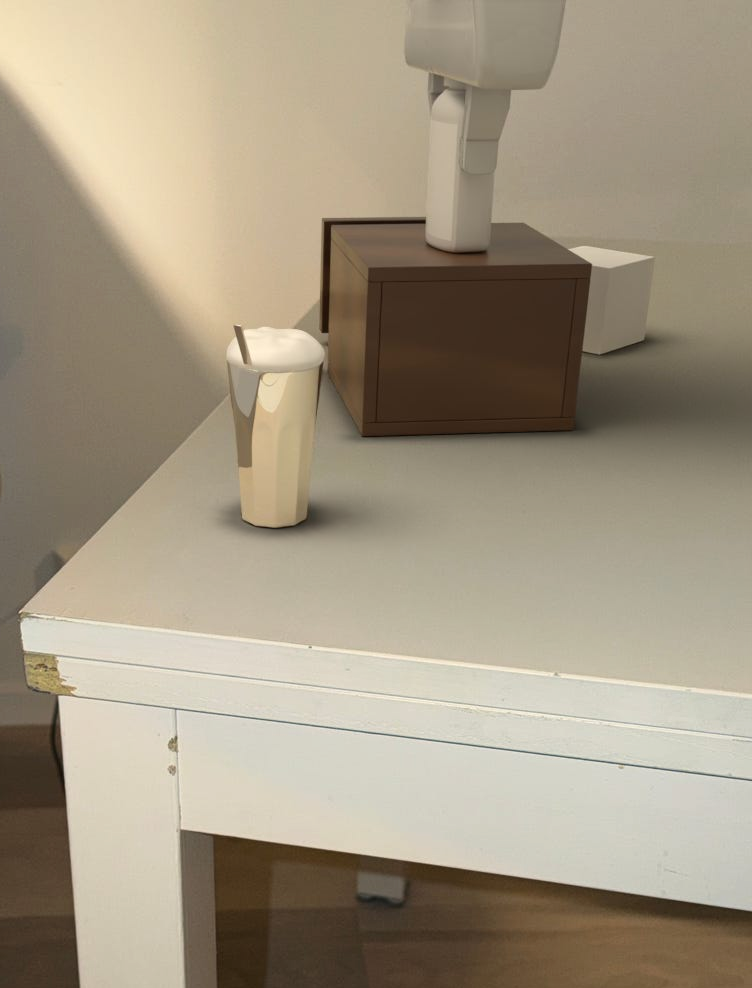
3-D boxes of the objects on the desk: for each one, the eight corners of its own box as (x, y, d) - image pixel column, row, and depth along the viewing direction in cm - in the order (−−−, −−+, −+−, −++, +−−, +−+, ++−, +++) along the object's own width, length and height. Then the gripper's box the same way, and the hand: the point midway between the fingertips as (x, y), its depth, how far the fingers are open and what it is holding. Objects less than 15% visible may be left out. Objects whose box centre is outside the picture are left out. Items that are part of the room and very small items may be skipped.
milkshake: (199, 525, 63) (195, 318, 59) (261, 493, 67) (262, 296, 63) (277, 546, 61) (279, 332, 56) (337, 511, 65) (343, 309, 60)
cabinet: (327, 373, 88) (331, 224, 83) (510, 368, 89) (524, 222, 84) (361, 436, 75) (368, 267, 71) (573, 430, 77) (592, 263, 72)
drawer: (309, 313, 99) (311, 206, 95) (457, 310, 100) (464, 204, 97) (346, 376, 83) (350, 251, 80) (520, 372, 85) (532, 248, 81)
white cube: (599, 355, 92) (609, 268, 89) (528, 340, 96) (536, 256, 93) (644, 340, 96) (655, 256, 93) (574, 326, 100) (583, 245, 97)
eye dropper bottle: (408, 251, 75) (417, 21, 70) (431, 235, 80) (441, 18, 74) (484, 256, 74) (499, 21, 68) (502, 238, 79) (517, 18, 73)
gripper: (385, -104, 77) (374, 144, 84) (468, -128, 59) (447, 191, 66) (488, -103, 78) (471, 143, 84) (603, -126, 60) (569, 190, 66)
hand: (461, 165), depth 75 cm, fingers closed on eye dropper bottle, 5 cm apart
